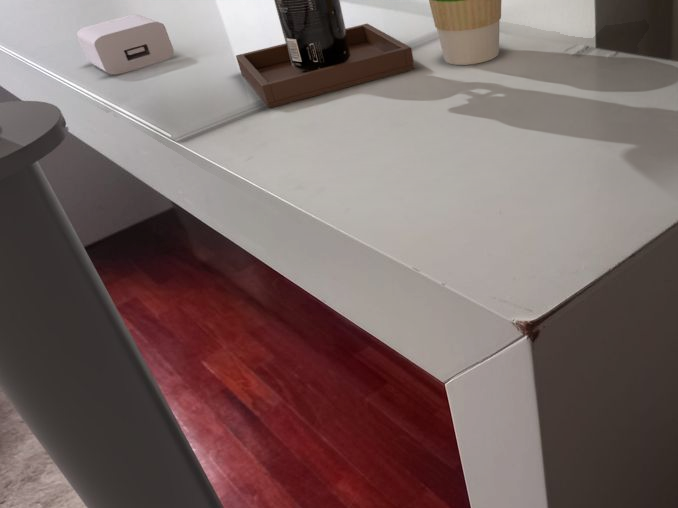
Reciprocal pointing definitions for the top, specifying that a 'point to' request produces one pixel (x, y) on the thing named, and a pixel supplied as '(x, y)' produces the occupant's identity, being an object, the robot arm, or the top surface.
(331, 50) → the beverage can
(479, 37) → the coffee cup
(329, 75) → the holder
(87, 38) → the charger
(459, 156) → the top surface
